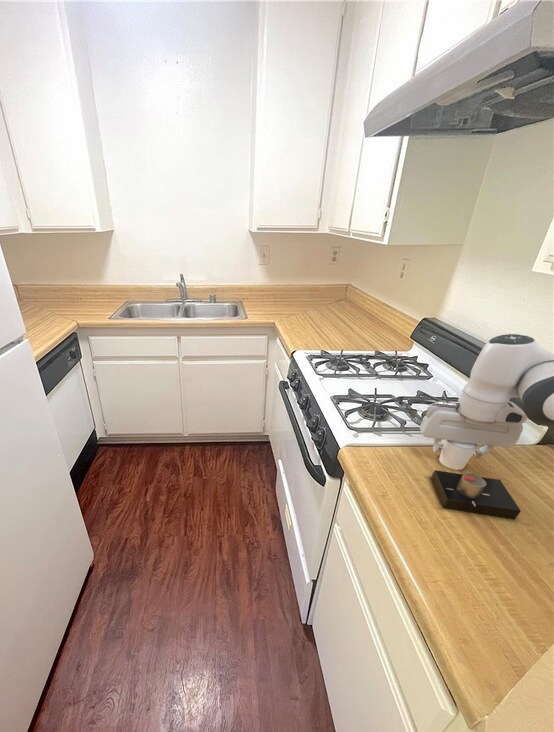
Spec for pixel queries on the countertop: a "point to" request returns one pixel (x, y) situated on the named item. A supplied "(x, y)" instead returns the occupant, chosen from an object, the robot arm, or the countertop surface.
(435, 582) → the countertop surface
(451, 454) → the white cylinder
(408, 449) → the countertop surface
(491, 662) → the countertop surface
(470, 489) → the hob knob
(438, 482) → the black knob base
